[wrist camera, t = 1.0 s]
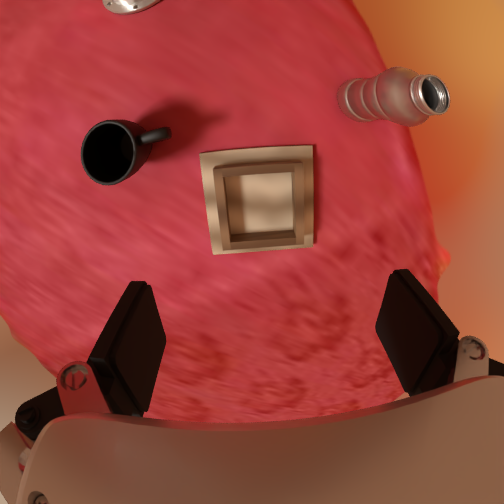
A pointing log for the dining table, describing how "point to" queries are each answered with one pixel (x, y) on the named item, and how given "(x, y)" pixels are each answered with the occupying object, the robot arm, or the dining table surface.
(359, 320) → the dining table surface
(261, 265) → the dining table surface
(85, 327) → the dining table surface
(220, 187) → the bottle stand
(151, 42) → the dining table surface
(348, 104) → the plastic bottle
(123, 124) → the mug
